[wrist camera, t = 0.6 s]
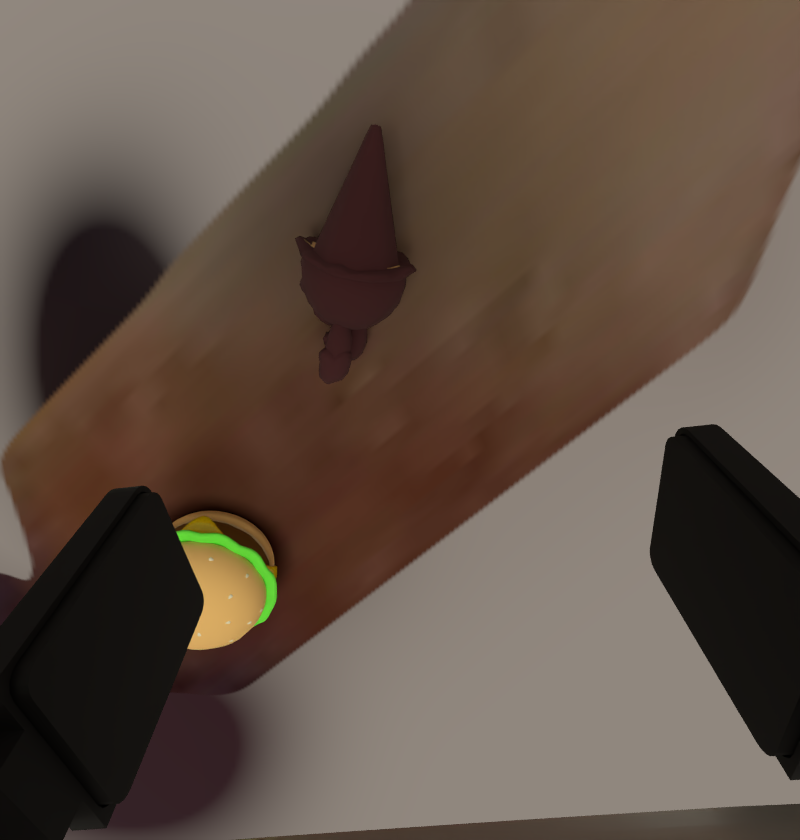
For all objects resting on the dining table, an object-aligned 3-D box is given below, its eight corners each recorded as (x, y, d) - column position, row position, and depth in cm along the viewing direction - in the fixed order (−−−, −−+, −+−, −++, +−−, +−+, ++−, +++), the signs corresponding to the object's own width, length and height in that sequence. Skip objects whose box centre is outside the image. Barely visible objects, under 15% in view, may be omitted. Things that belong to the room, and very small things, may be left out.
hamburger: (209, 472, 43) (168, 544, 35) (314, 552, 47) (298, 632, 39) (126, 545, 46) (73, 625, 39) (230, 613, 51) (201, 697, 43)
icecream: (281, 107, 25) (266, 376, 33) (428, 144, 24) (375, 411, 32) (334, 108, 30) (310, 337, 39) (454, 138, 30) (403, 365, 38)
